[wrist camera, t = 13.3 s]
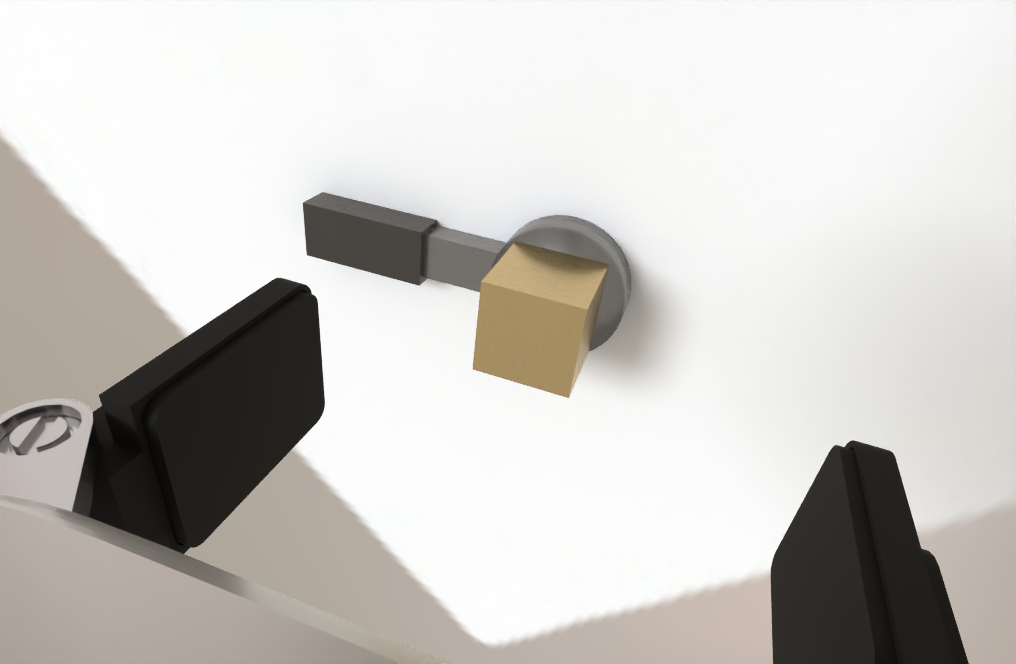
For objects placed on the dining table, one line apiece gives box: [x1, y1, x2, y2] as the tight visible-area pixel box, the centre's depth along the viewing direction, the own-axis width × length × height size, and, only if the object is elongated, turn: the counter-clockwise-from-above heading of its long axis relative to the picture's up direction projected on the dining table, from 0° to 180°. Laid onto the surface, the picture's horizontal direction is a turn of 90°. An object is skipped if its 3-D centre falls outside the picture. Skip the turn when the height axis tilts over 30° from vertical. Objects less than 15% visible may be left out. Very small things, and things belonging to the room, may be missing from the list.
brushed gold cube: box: [473, 241, 609, 398], centre depth 37 cm, size 6×6×6 cm
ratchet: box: [303, 192, 631, 351], centre depth 40 cm, size 9×23×6 cm, turn 83°
